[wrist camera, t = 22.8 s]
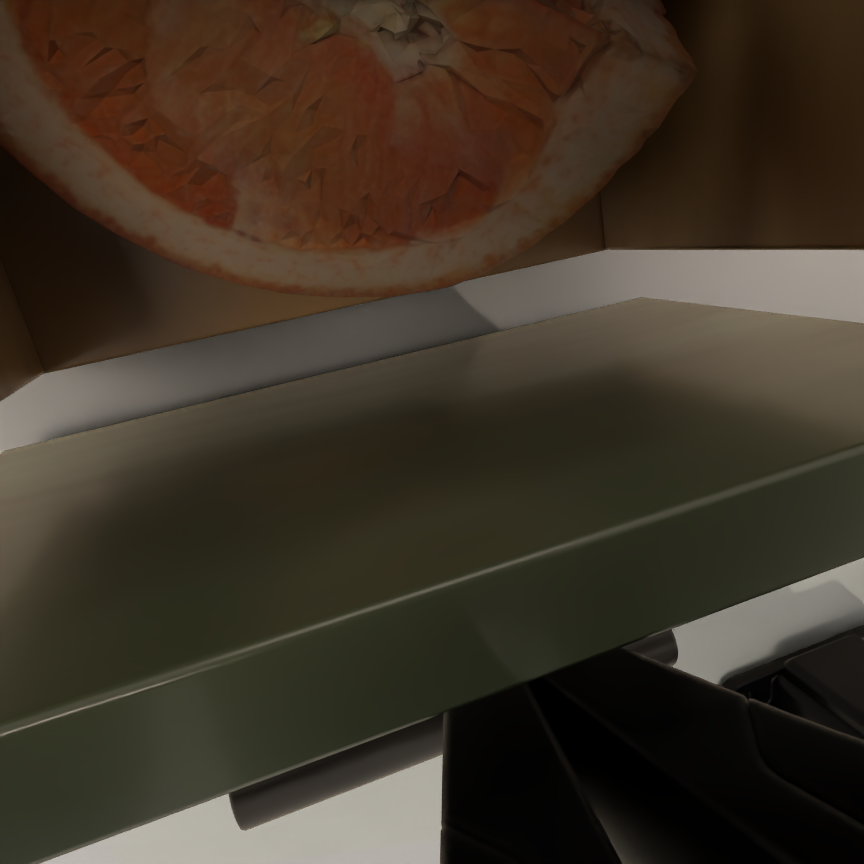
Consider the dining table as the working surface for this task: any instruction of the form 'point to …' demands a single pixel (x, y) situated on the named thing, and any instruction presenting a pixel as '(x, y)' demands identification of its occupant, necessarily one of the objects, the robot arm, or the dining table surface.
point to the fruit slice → (334, 127)
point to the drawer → (422, 473)
